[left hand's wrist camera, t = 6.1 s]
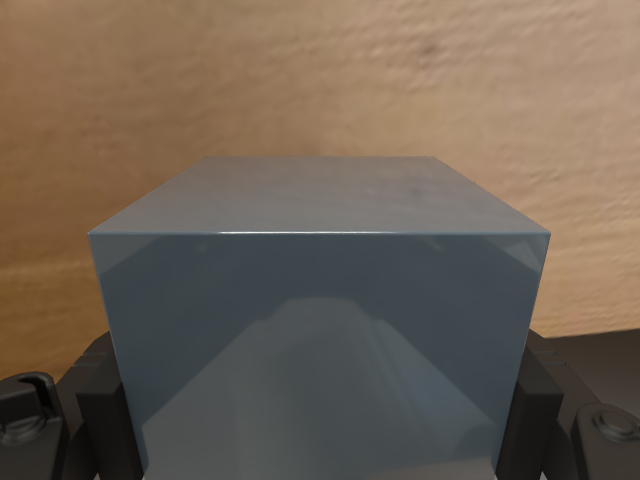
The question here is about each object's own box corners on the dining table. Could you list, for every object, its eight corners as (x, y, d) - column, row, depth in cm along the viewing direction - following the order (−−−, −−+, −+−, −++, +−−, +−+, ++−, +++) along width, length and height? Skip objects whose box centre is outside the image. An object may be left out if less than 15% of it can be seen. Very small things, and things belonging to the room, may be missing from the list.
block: (412, 369, 17) (475, 565, 10) (226, 369, 17) (163, 565, 10) (434, 155, 14) (553, 231, 7) (203, 156, 14) (84, 231, 7)
